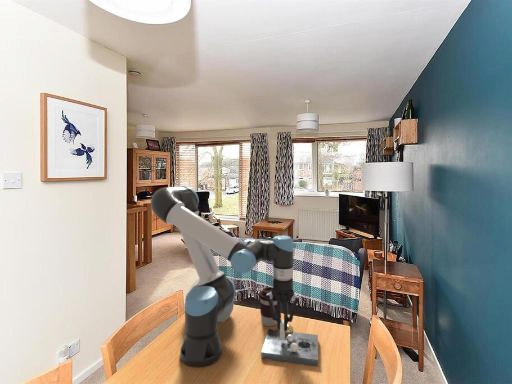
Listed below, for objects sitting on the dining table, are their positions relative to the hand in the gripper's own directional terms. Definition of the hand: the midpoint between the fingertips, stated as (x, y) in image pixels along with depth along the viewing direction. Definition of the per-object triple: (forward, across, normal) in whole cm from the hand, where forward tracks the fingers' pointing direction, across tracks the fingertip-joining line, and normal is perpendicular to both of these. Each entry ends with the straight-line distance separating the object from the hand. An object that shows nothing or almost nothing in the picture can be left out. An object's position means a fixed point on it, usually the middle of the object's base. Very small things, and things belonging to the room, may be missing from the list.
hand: (282, 337), depth 112 cm
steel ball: (0, +3, 0) cm, 3 cm away
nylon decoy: (0, +5, -5) cm, 7 cm away
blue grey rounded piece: (+4, -35, +16) cm, 39 cm away
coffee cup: (+4, -8, +18) cm, 20 cm away
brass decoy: (0, +2, +6) cm, 6 cm away
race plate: (+4, +3, 0) cm, 5 cm away
